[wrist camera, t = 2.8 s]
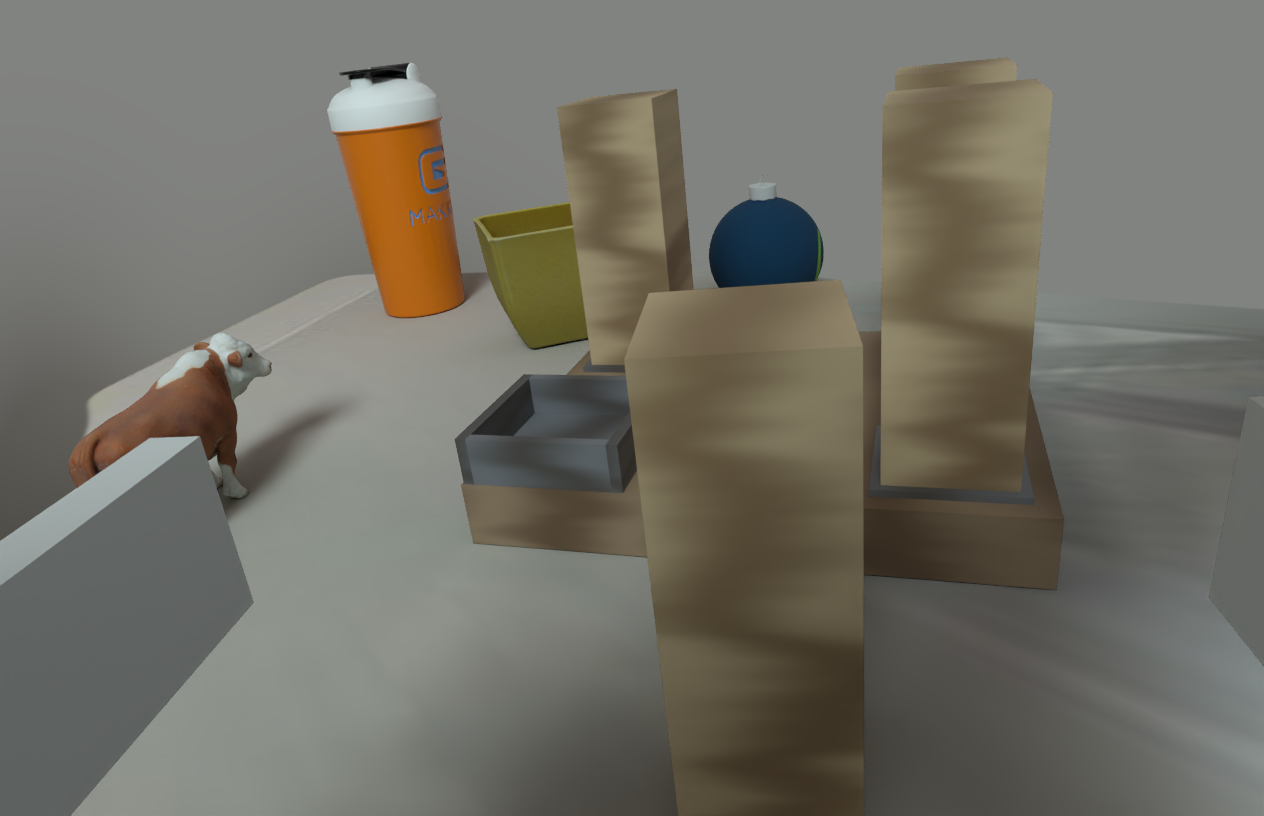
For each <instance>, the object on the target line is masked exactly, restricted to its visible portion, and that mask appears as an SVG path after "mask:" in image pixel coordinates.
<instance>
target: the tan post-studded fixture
mask: <svg viewBox="0 0 1264 816" xmlns="http://www.w3.org/2000/svg"><path fill="white" fill-rule="evenodd" d="M1016 68H1017V65H1016V64H1015V63H1014V62H1013V61H1011V60H1010V59H1009V58H998V59H987V60H976V61H966V62H955V63H945V64H934V65H924V66H914V67H902V68H898V70H897V73H896V75H895V91H890V92H888V95H887V97H886V100H885V102H884V104H883V144H882V145H883V146H882V148H883V151H882V313H881V332H858V333H859V336H860V339H861V342H862V345H863V559H864V574H866V575H878V576H891V577H903V578H916V579H928V580H940V581H953V582H965V583H978V584H990V585H1003V586H1015V587H1028V588H1040V589H1053V590H1057V581H1058V571H1059V562H1060V552H1061V542H1062V532H1063V523H1064V518H1063V514H1062V511H1061V507H1060V503H1059V499H1058V495H1057V491H1056V487H1055V484H1054V480H1053V476H1052V472H1051V468H1050V464H1049V460H1048V457H1047V453H1046V449H1045V445H1044V441H1043V437H1042V433H1041V430H1040V426H1039V422H1038V418H1037V414H1036V410H1035V407H1034V403H1033V399H1032V395H1031V391H1030V387H1029V384H1030V372H1031V359H1032V346H1033V334H1034V321H1035V308H1036V296H1037V283H1038V270H1039V258H1040V245H1041V232H1042V220H1043V219H1042V218H1043V207H1044V195H1045V194H1044V193H1045V182H1046V168H1047V156H1048V143H1049V131H1050V118H1051V106H1052V94H1053V92H1051V91H1050V90H1049V89H1048V88H1046V87H1045V86H1044V85H1042V84H1041V83H1040V82H1039V81H1037V80H1036V79H1029V80H1017V81H1016ZM557 111H558V119H559V126H560V133H561V140H562V148H563V156H564V163H565V170H566V178H567V185H568V192H569V200H570V207H571V215H572V222H573V229H574V237H575V244H576V251H577V259H578V266H579V274H580V281H581V288H582V296H583V303H584V310H585V318H586V325H587V333H588V340H589V347H590V350H589V352H588V353H587V354H586V355H585V356H584V357H583V358H582V359H581V360H580V361H579V362H578V363H577V364H576V365H575V366H574V367H573V368H572V369H571V370H570V371H569V372H568V374H567V375H523V376H522V377H521V378H520V379H518V380H517V381H516V382H515V383H514V384H513V385H512V386H511V387H510V388H509V389H508V390H507V391H506V392H505V393H504V394H502V395H501V396H500V397H499V398H498V399H497V400H496V401H495V402H494V403H493V404H492V405H491V406H490V407H489V408H488V409H486V410H485V411H484V412H483V413H482V414H481V415H480V416H479V417H478V418H477V419H476V420H475V421H474V422H473V423H472V424H470V425H469V426H468V427H467V428H466V429H465V430H464V431H463V432H462V433H461V434H460V435H459V436H458V437H457V438H456V439H455V443H456V448H457V452H458V457H459V462H460V467H461V471H462V476H463V481H464V483H463V484H462V485H461V487H462V492H463V496H464V501H465V506H466V511H467V515H468V520H469V525H470V529H471V534H472V539H473V543H479V544H492V545H504V546H517V547H529V548H542V549H554V550H567V551H579V552H592V553H604V554H617V555H629V556H641V557H647V549H646V540H645V532H644V524H643V515H642V507H641V498H640V490H639V482H638V473H637V465H636V456H635V448H634V439H633V431H632V423H631V414H630V406H629V397H628V389H627V381H626V372H625V364H624V358H625V356H626V353H627V350H628V348H629V345H630V342H631V340H632V337H633V334H634V332H635V329H636V326H637V324H638V321H639V318H640V316H641V313H642V310H643V308H644V305H645V302H646V300H647V297H648V294H649V293H656V292H670V291H685V290H694V289H693V277H692V265H691V253H690V241H689V229H688V217H687V205H686V193H685V180H684V168H683V156H682V144H681V132H680V120H679V108H678V96H677V89H671V90H660V91H650V92H639V93H630V94H618V95H608V96H597V97H589V98H586V99H582V100H579V101H576V102H572V103H569V104H566V105H562V106H559V107H557Z"/></svg>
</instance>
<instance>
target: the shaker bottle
mask: <svg viewBox="0 0 1264 816" xmlns="http://www.w3.org/2000/svg"><path fill="white" fill-rule="evenodd" d="M339 74H340V75H348V78H349V80H350V84H351V86H350V87H348V88H346V89H344V90H342V91H341V92H339V93H338V94H337V95H335V96H334V97H333V99H332V100H331V102H330V105H329V108H328V110H327V112H328V116H329V120H330V125H331V129H332V133H333V134H335V135H336V137H337V141H338V145H339V148H340V152H341V155H342V159H343V163H344V166H345V170H346V173H347V177H348V180H349V184H350V188H351V191H352V195H353V198H354V202H355V205H356V209H357V212H358V216H359V220H360V223H361V227H362V230H363V234H364V237H365V241H366V244H367V248H368V251H369V255H370V258H371V262H372V266H373V269H374V272H375V276H376V280H377V283H378V287H379V291H380V294H381V298H382V301H383V305H384V308H385V311H386V313H387V314H388V315H390V316H393V317H400V318H410V317H421V316H427V315H432V314H437V313H441V312H444V311H447V310H450V309H453V308H455V307H457V306H459V305H460V304H461V303H463V301H464V299H465V296H464V289H463V282H462V275H461V268H460V262H459V255H458V249H457V241H456V234H455V227H454V220H453V213H452V206H451V199H450V192H449V185H448V178H447V171H446V165H445V157H444V150H443V143H442V136H441V129H440V123H439V122H440V120H441V118H442V116H441V113H440V108H439V103H438V97H437V95H436V94H435V93H434V92H433V91H432V90H431V89H430V88H429V87H428V86H426V85H425V84H422V82H421V77H420V72H419V70H418V68H417V66H416V65H415V64H413V63H404V64H397V65H387V66H379V67H371V68H369V69H366V70H356V71H347V72H340V73H339Z"/></svg>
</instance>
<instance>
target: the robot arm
mask: <svg viewBox="0 0 1264 816" xmlns="http://www.w3.org/2000/svg"><path fill="white" fill-rule="evenodd" d="M1209 598H1210V599H1211V600H1212V602H1213V603H1214V604H1215V606H1216V607H1217V608H1218V609H1219V611H1220V612H1221V613H1222V614H1223V616H1224V617H1225V618H1226V619H1227V621H1228V622H1229V623H1230V624H1231V626H1232V627H1233V628H1234V629H1235V631H1236V632H1237V633H1238V634H1239V636H1240V637H1241V638H1242V639H1243V641H1244V642H1245V643H1246V645H1247V646H1248V647H1249V648H1250V650H1251V651H1252V652H1253V653H1254V655H1255V656H1256V657H1257V658H1258V660H1259V661H1260V662H1261V663H1262V665H1263V666H1264V396H1254V397H1248V401H1247V406H1246V411H1245V416H1244V421H1243V426H1242V431H1241V437H1240V442H1239V447H1238V452H1237V457H1236V462H1235V467H1234V472H1233V477H1232V482H1231V487H1230V492H1229V498H1228V503H1227V508H1226V513H1225V518H1224V523H1223V528H1222V533H1221V538H1220V543H1219V548H1218V554H1217V559H1216V564H1215V569H1214V574H1213V579H1212V584H1211V589H1210V594H1209ZM253 603H254V601H253V598H252V595H251V592H250V589H249V586H248V583H247V580H246V577H245V574H244V571H243V568H242V564H241V561H240V558H239V555H238V552H237V549H236V546H235V543H234V540H233V537H232V534H231V531H230V527H229V524H228V521H227V518H226V515H225V512H224V509H223V506H222V503H221V500H220V497H219V494H218V491H217V487H216V484H215V481H214V478H213V475H212V472H211V469H210V466H209V463H208V460H207V457H206V454H205V450H204V447H203V444H202V441H201V438H200V436H193V437H166V438H149V439H148V440H146V441H145V442H143V443H142V444H140V445H139V446H137V447H136V448H135V449H133V450H132V451H130V452H129V453H127V454H126V455H124V456H123V457H121V458H120V459H119V460H117V461H116V462H114V463H113V464H111V465H110V466H108V467H107V468H106V469H104V470H103V471H101V472H100V473H98V474H97V475H95V476H94V477H92V478H91V479H90V480H88V481H87V482H85V483H84V484H82V485H81V486H79V487H78V488H77V489H75V490H74V491H72V492H71V493H69V494H68V495H66V496H65V497H63V498H62V499H61V500H59V501H58V502H56V503H55V504H53V505H52V506H51V507H49V508H48V509H46V510H45V511H43V512H42V513H40V514H39V515H37V516H36V517H34V518H33V519H32V520H30V521H29V522H27V523H26V524H24V525H23V526H21V527H20V528H19V529H17V530H16V531H14V532H13V533H11V534H10V535H8V536H7V537H5V538H4V539H3V540H1V541H0V816H71V814H72V813H73V812H74V811H75V810H76V809H77V807H78V806H79V805H80V804H81V803H82V802H83V800H84V799H85V798H86V797H87V796H88V795H89V793H90V792H91V791H92V790H93V789H94V788H95V786H96V785H97V784H98V783H99V782H100V781H101V779H102V778H103V777H104V776H105V775H106V774H107V772H108V771H109V770H110V769H111V768H112V767H113V766H114V764H115V763H116V762H117V761H118V760H119V759H120V757H121V756H122V755H123V754H124V753H125V752H126V750H127V749H128V748H129V747H130V746H131V745H132V743H133V742H134V741H135V740H136V739H137V738H138V736H139V735H140V734H141V733H142V732H143V731H144V729H145V728H146V727H147V726H148V725H149V724H150V722H151V721H152V720H153V719H154V718H155V717H156V715H157V714H158V713H159V712H160V711H161V710H162V709H163V707H164V706H165V705H166V704H167V703H168V702H169V700H170V699H171V698H172V697H173V696H174V695H175V693H176V692H177V691H178V690H179V689H180V688H181V686H182V685H183V684H184V683H185V682H186V681H187V679H188V678H189V677H190V676H191V675H192V674H193V672H194V671H195V670H196V669H197V668H198V667H199V665H200V664H201V663H202V662H203V661H204V660H205V658H206V657H207V656H208V655H209V654H210V653H211V652H212V650H213V649H214V648H215V647H216V646H217V645H218V643H219V642H220V641H221V640H222V639H223V638H224V636H225V635H226V634H227V633H228V632H229V631H230V629H231V628H232V627H233V626H234V625H235V624H236V622H237V621H238V620H239V619H240V618H241V617H242V615H243V614H244V613H245V612H246V611H247V610H248V608H249V607H250V606H251V605H252V604H253Z"/></svg>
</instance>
